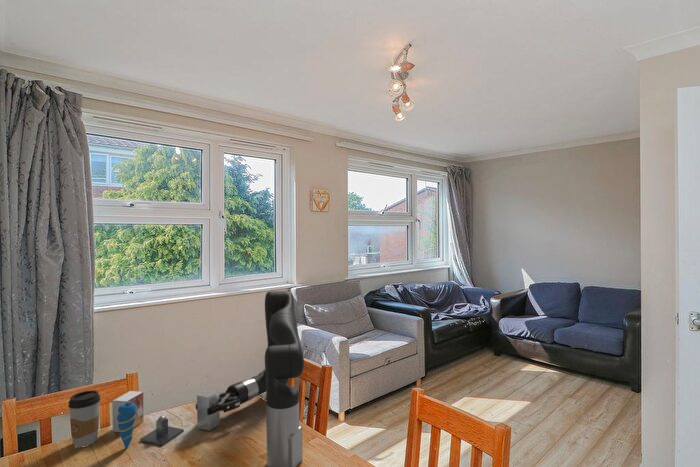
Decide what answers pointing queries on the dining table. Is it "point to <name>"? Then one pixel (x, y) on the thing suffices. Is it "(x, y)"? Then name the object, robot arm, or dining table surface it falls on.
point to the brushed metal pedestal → (203, 403)
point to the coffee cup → (84, 417)
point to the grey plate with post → (162, 433)
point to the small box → (132, 396)
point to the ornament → (126, 421)
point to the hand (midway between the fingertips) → (202, 409)
